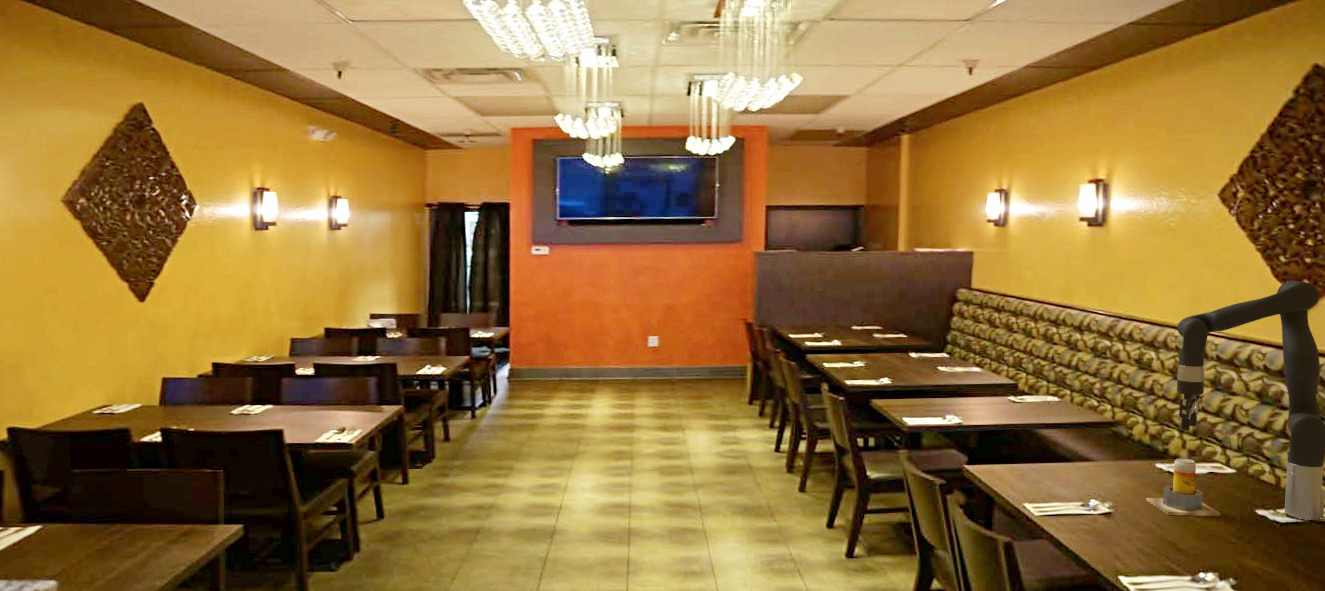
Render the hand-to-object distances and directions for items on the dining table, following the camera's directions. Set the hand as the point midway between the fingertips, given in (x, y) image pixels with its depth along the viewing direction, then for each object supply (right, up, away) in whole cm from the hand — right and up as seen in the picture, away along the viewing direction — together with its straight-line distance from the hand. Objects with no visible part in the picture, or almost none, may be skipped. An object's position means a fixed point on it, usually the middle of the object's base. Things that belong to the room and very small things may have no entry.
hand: (1188, 428), depth 289 cm
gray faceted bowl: (-2, -27, +1) cm, 27 cm away
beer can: (-2, -26, +1) cm, 26 cm away
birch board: (-2, -27, +1) cm, 27 cm away
